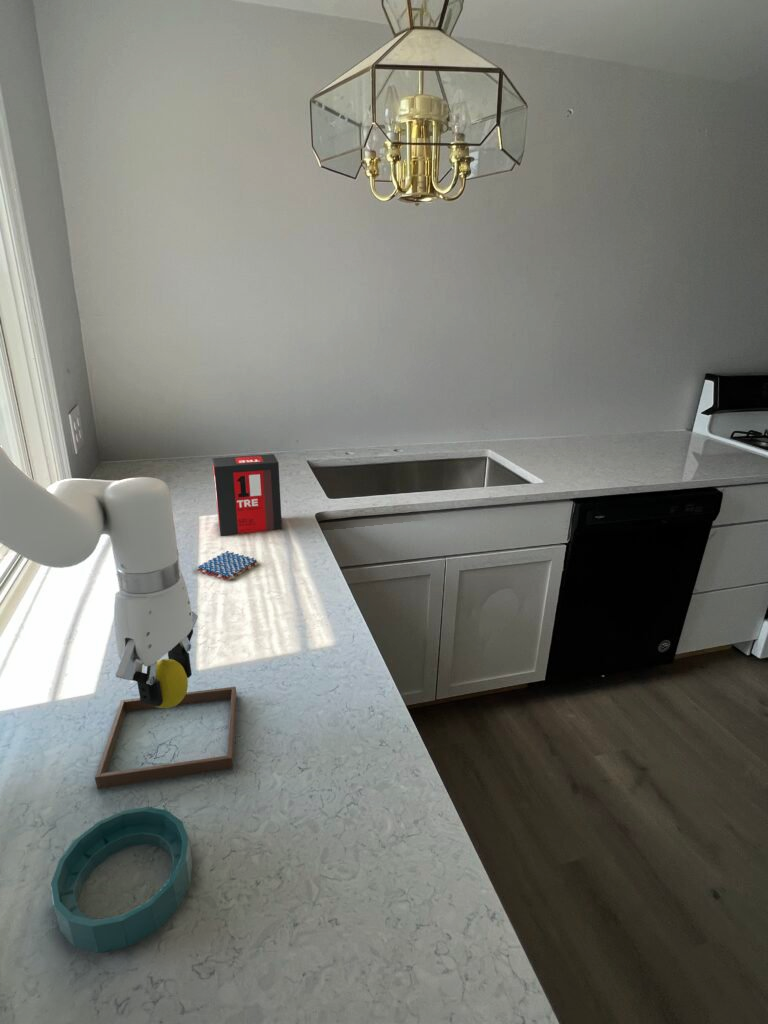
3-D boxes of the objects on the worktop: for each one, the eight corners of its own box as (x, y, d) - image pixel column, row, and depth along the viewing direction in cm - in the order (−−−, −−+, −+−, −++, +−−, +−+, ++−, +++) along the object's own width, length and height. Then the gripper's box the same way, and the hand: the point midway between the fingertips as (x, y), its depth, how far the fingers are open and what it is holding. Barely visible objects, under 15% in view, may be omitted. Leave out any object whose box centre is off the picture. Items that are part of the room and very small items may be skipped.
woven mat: (194, 573, 130) (194, 566, 130) (226, 557, 139) (225, 549, 138) (229, 584, 126) (228, 576, 125) (259, 566, 135) (258, 558, 134)
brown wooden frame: (97, 792, 73) (94, 777, 72) (123, 713, 87) (120, 700, 86) (233, 772, 76) (231, 757, 75) (237, 699, 90) (235, 686, 89)
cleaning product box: (220, 538, 150) (213, 466, 143) (219, 526, 158) (212, 458, 151) (282, 531, 155) (278, 462, 148) (277, 520, 163) (273, 454, 156)
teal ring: (41, 969, 54) (31, 938, 52) (80, 845, 66) (73, 817, 64) (184, 939, 56) (179, 909, 55) (197, 826, 68) (193, 799, 67)
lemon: (140, 715, 78) (132, 667, 75) (167, 690, 83) (160, 645, 80) (173, 725, 76) (165, 676, 73) (198, 699, 81) (192, 653, 78)
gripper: (168, 543, 80) (182, 649, 87) (72, 600, 65) (98, 723, 71) (213, 551, 78) (224, 659, 85) (125, 611, 63) (147, 737, 69)
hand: (166, 687), depth 78 cm, fingers closed on lemon, 5 cm apart
